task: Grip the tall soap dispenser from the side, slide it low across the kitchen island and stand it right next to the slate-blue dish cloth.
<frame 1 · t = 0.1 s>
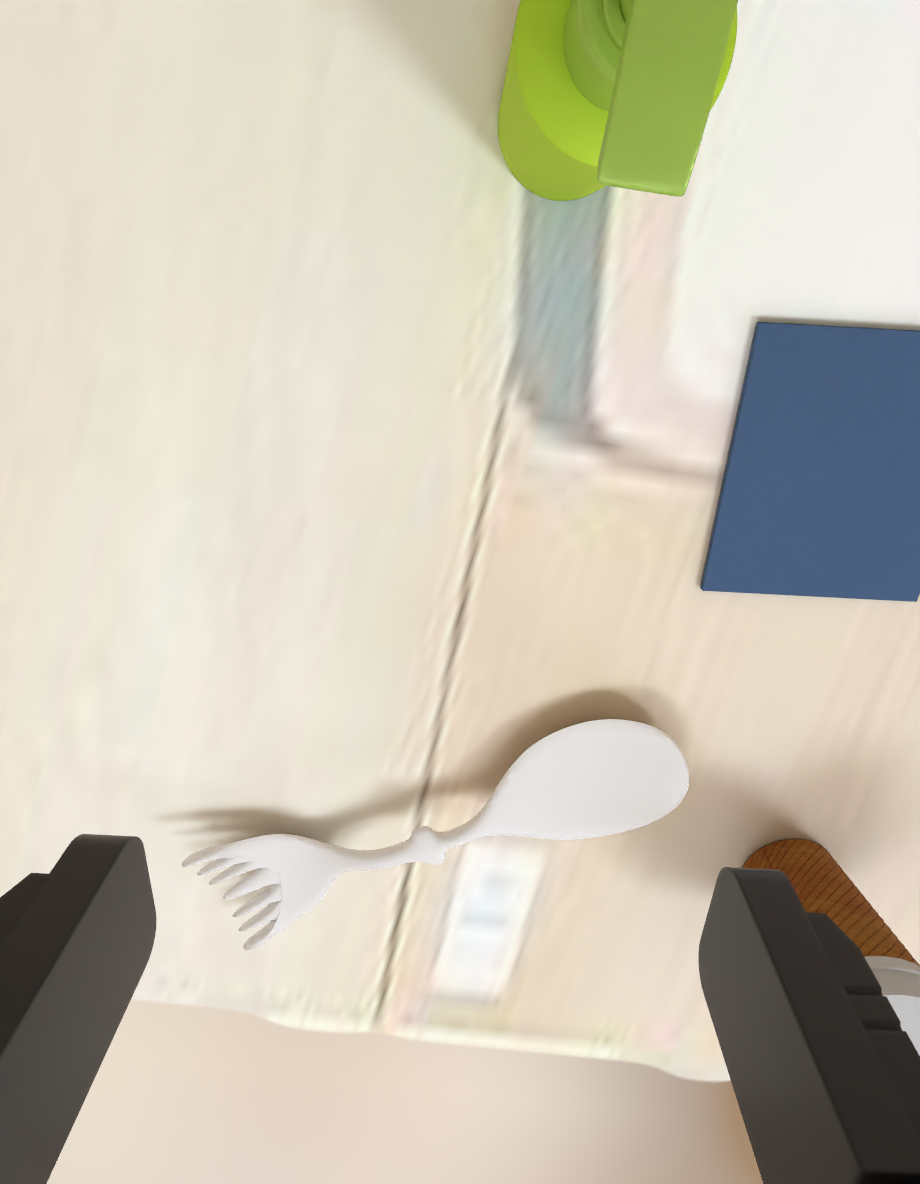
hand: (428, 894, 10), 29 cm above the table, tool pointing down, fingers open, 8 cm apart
soap dispenser: (563, 138, 31), on the table
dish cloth: (841, 471, 37), on the table
disposable coffee cup: (785, 870, 49), on the table
spoon: (439, 808, 47), on the table
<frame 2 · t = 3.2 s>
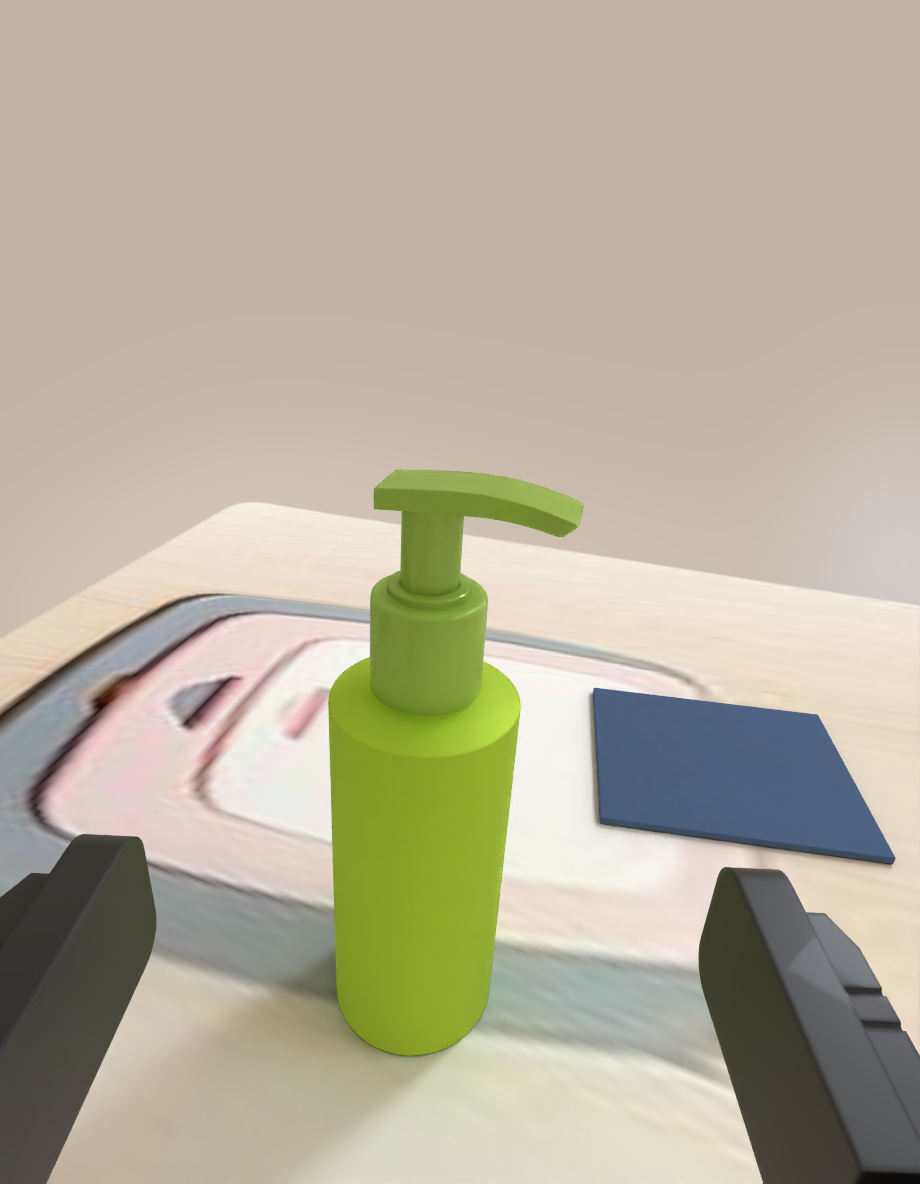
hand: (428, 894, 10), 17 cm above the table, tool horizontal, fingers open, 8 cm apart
soap dispenser: (426, 985, 28), on the table
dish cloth: (720, 765, 40), on the table
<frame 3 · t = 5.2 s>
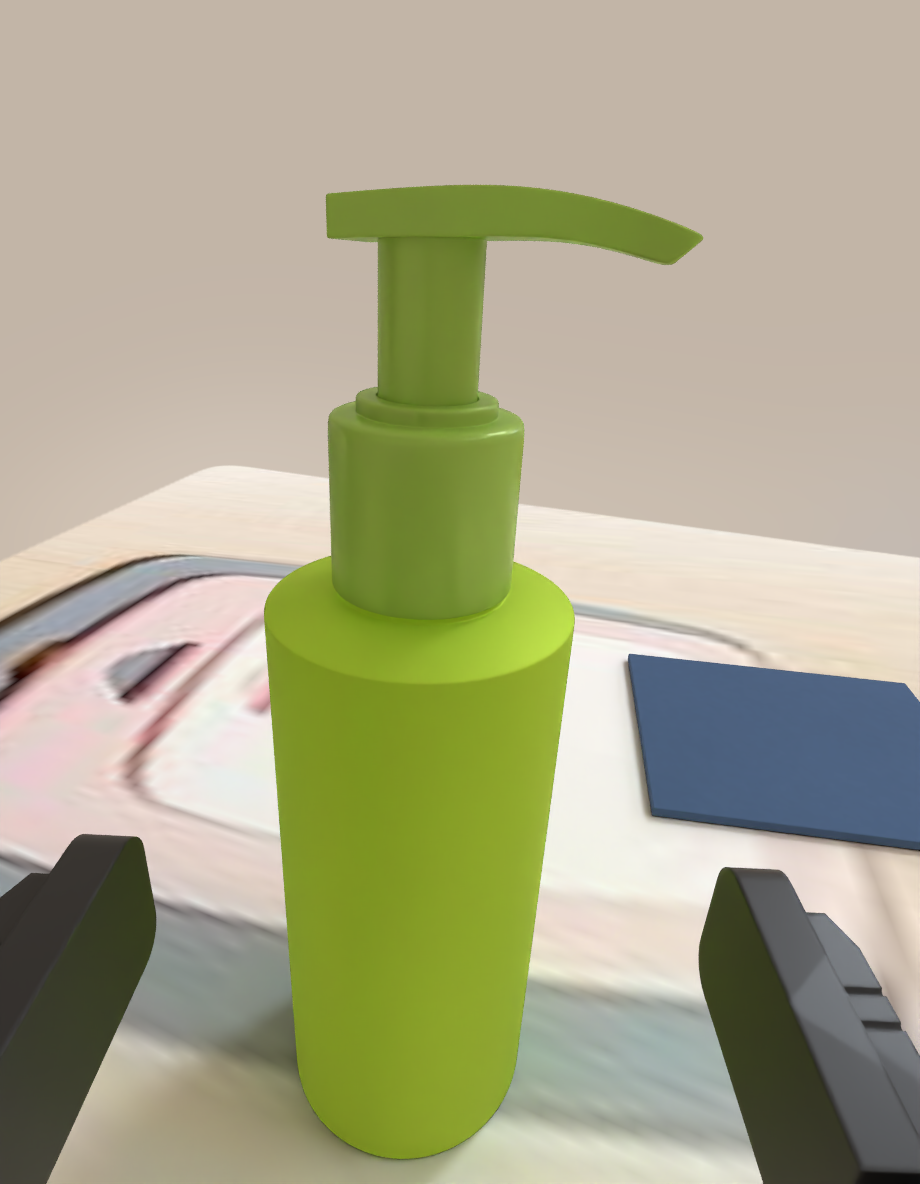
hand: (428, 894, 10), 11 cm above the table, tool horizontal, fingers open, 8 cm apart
soap dispenser: (426, 1045, 19), on the table
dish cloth: (795, 743, 32), on the table
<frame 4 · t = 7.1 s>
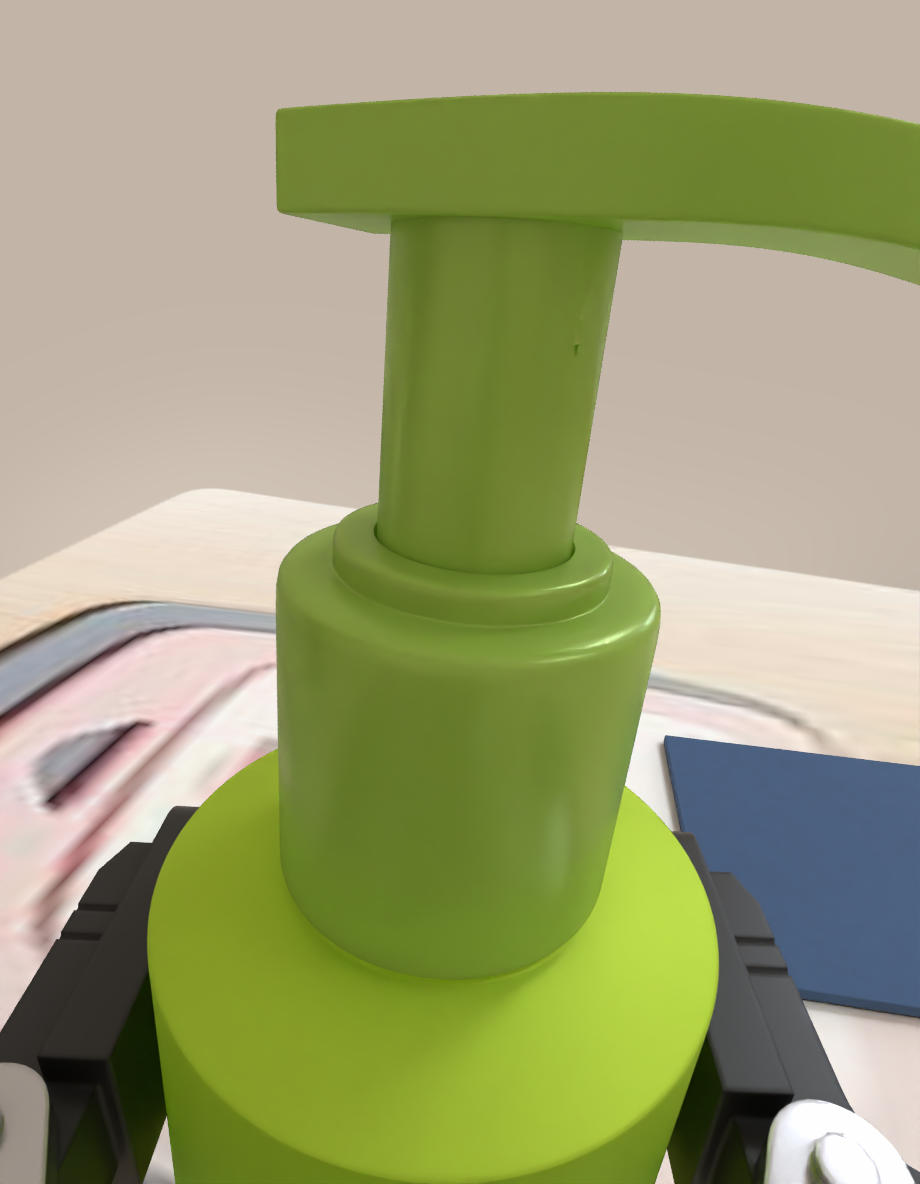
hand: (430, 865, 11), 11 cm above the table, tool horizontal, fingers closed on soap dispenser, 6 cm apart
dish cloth: (879, 865, 26), on the table
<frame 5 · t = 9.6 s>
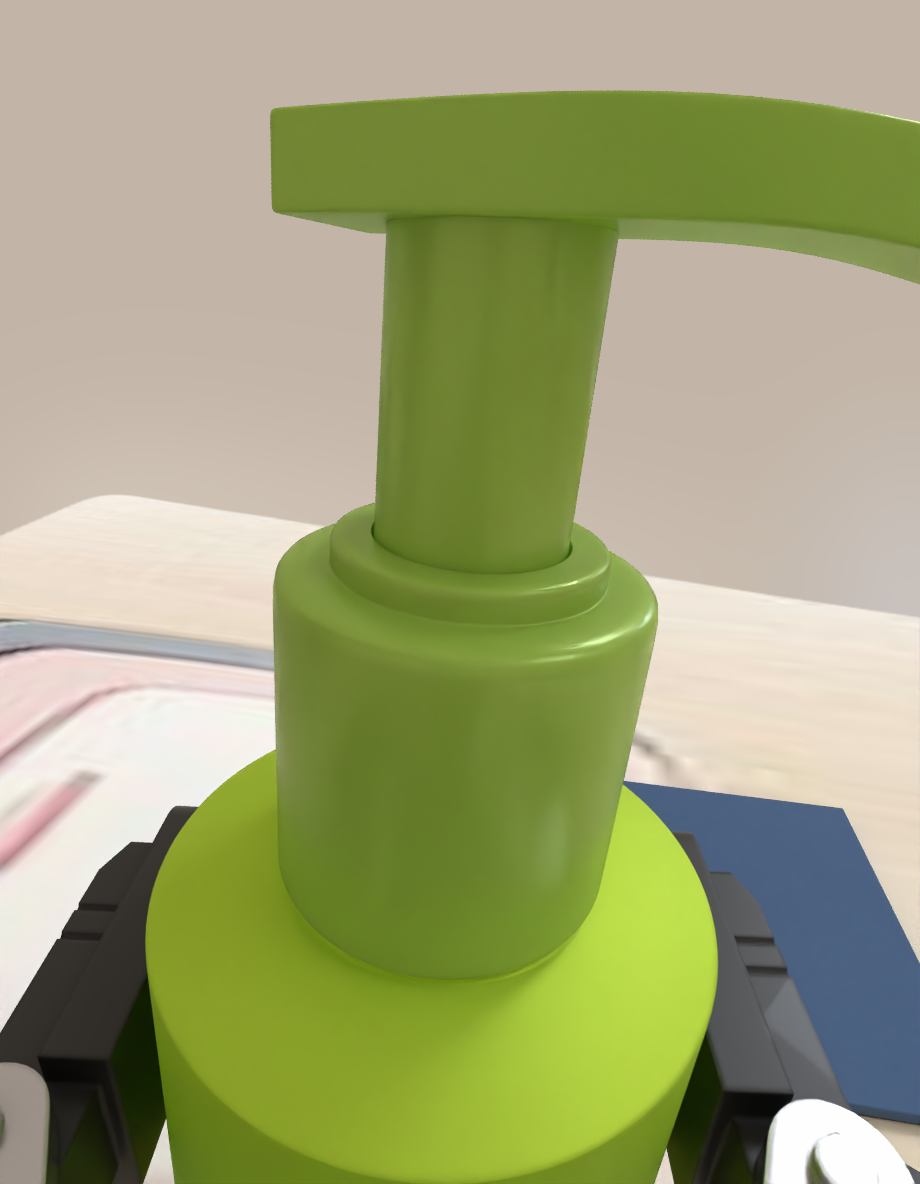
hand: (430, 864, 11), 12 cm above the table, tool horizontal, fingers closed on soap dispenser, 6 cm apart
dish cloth: (689, 910, 25), on the table
when the fingers open (11 cm above the table, at t = 12.2 s): soap dispenser stays where it is, on the table.
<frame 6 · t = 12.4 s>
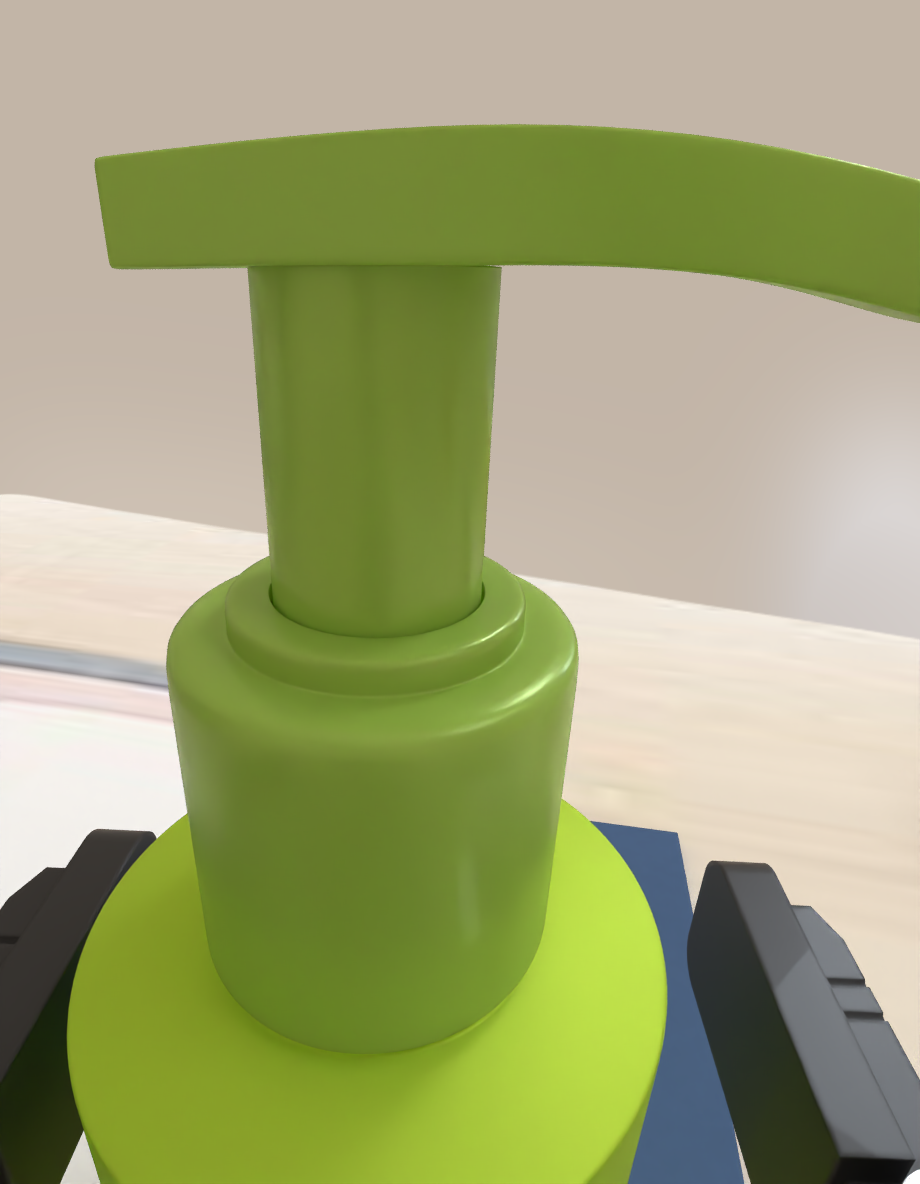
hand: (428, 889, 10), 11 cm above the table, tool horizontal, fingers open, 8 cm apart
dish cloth: (471, 950, 22), on the table
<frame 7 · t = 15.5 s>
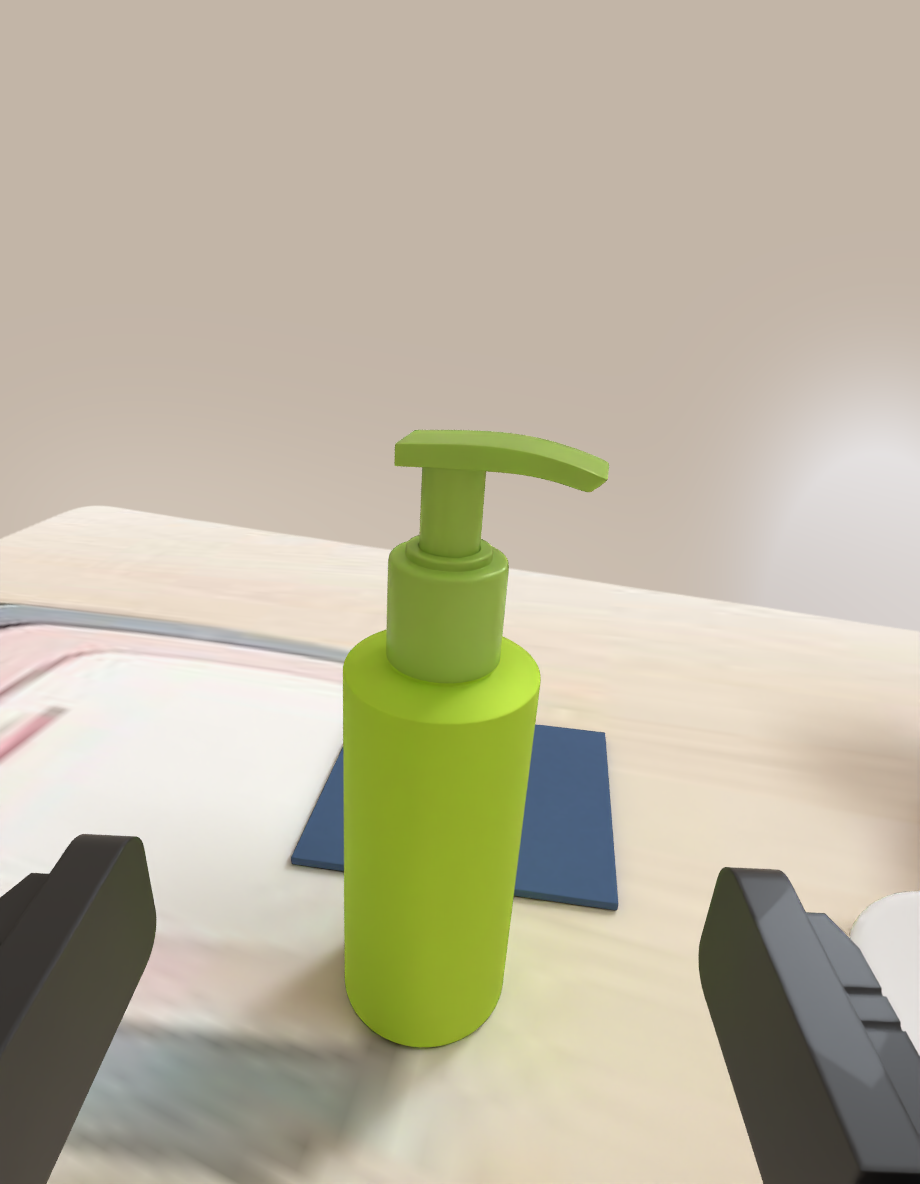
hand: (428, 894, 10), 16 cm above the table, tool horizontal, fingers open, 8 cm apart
soap dispenser: (437, 977, 27), on the table
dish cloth: (468, 792, 36), on the table
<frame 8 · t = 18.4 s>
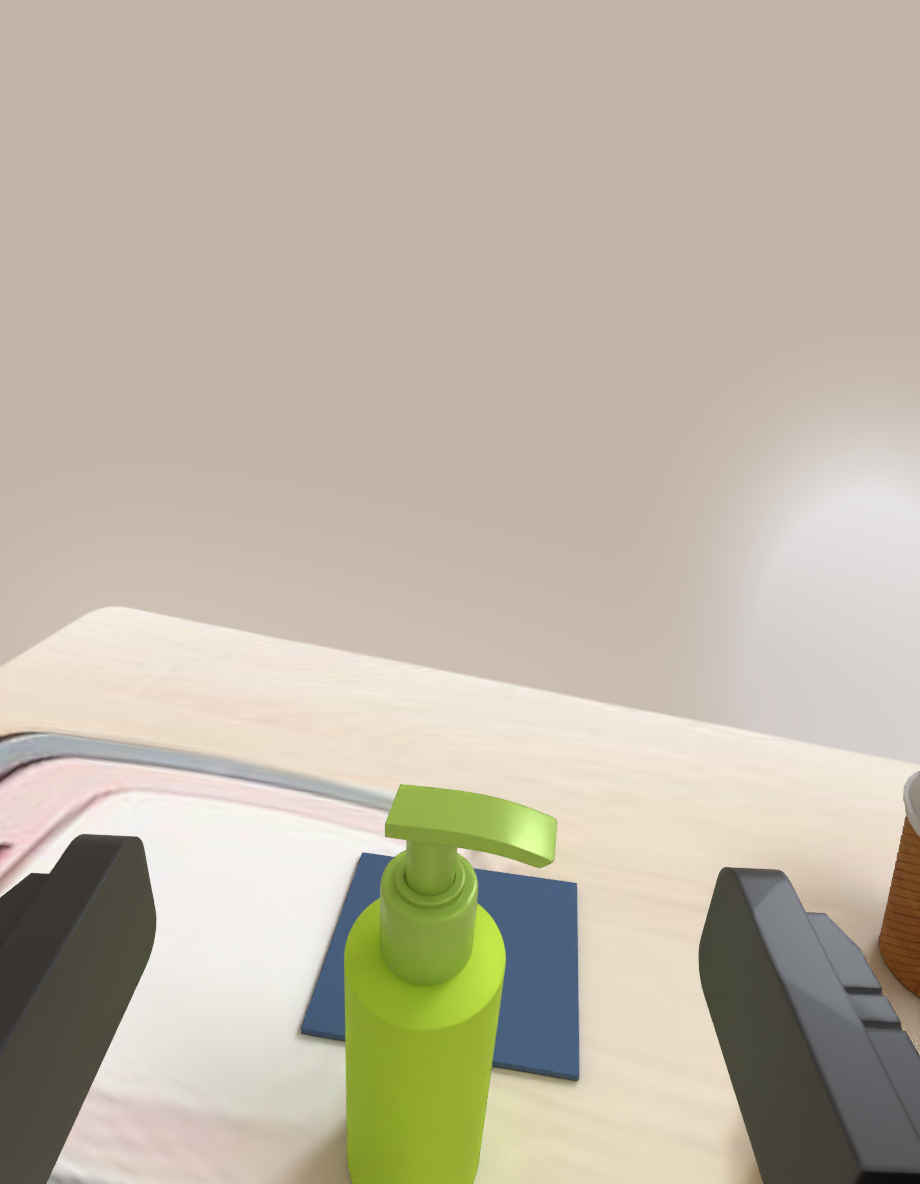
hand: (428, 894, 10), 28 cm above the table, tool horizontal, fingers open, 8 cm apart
soap dispenser: (425, 1151, 32), on the table
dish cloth: (454, 952, 41), on the table
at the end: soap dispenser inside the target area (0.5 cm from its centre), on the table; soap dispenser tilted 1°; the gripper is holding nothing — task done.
